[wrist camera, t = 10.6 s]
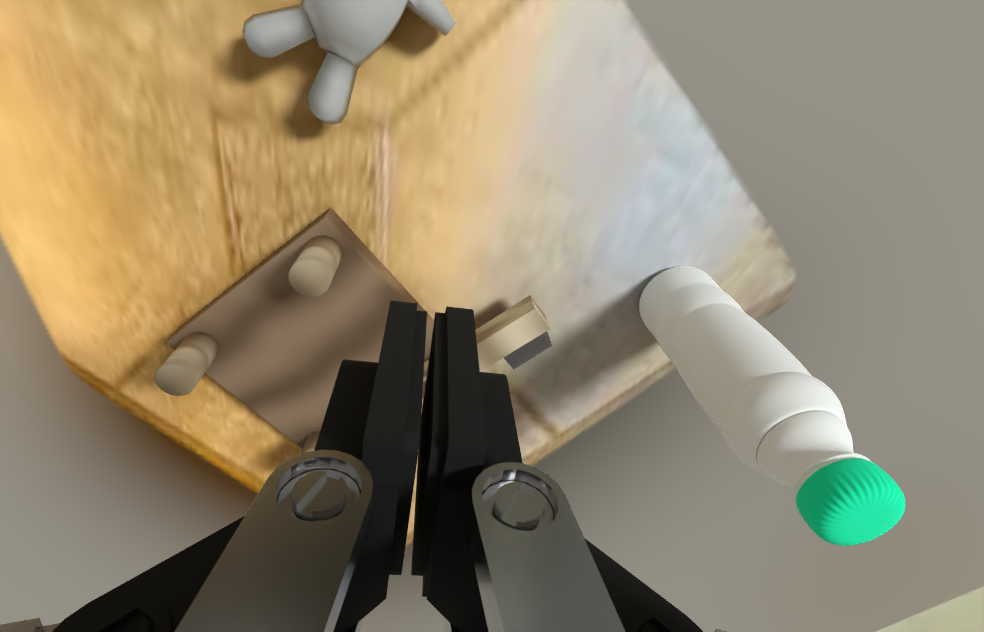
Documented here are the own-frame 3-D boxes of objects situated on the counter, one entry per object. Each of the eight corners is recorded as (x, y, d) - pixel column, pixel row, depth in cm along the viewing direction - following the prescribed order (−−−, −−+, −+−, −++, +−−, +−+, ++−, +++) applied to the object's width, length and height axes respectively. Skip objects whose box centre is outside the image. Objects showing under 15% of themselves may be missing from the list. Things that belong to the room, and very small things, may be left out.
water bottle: (665, 343, 50) (834, 583, 28) (621, 300, 47) (772, 529, 26) (725, 296, 48) (958, 515, 26) (683, 247, 45) (905, 448, 23)
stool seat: (179, 327, 45) (134, 377, 38) (408, 146, 39) (401, 169, 33) (335, 453, 54) (320, 512, 47) (543, 320, 48) (559, 366, 41)
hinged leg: (433, 383, 47) (433, 403, 44) (417, 366, 46) (416, 385, 43) (545, 314, 44) (550, 331, 42) (530, 295, 43) (535, 310, 41)
